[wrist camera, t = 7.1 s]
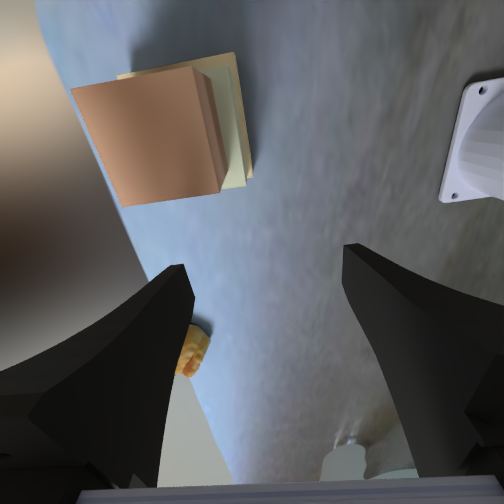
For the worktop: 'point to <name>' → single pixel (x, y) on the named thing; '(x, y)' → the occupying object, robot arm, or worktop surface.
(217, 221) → the worktop surface
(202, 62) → the oak slab
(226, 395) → the worktop surface
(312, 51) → the worktop surface
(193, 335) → the pastry
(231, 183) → the sage slab
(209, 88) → the terracotta cube
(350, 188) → the worktop surface
